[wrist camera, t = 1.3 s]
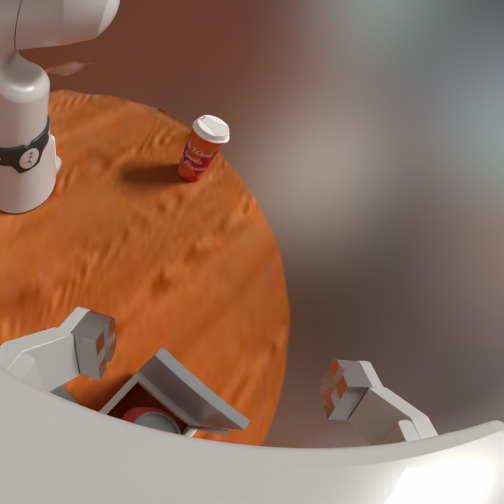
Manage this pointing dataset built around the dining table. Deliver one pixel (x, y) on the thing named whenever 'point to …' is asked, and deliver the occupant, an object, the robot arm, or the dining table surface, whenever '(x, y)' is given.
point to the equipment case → (182, 396)
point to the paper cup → (202, 147)
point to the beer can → (152, 419)
